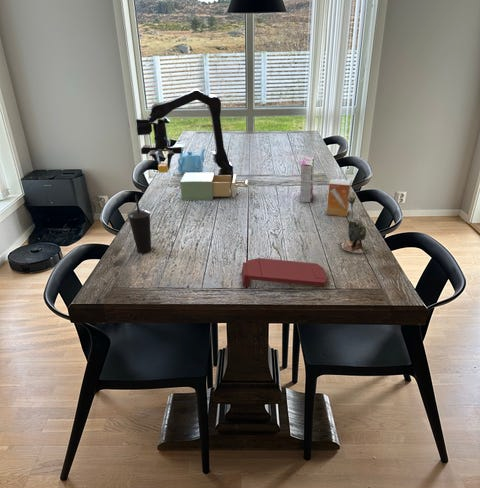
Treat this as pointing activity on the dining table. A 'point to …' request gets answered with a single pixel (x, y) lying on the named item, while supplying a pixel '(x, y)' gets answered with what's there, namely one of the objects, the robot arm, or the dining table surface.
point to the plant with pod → (355, 232)
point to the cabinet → (197, 186)
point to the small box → (338, 197)
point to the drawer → (225, 185)
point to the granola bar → (163, 166)
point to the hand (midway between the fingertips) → (164, 167)
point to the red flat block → (283, 272)
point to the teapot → (191, 162)
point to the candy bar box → (307, 179)
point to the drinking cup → (141, 228)
